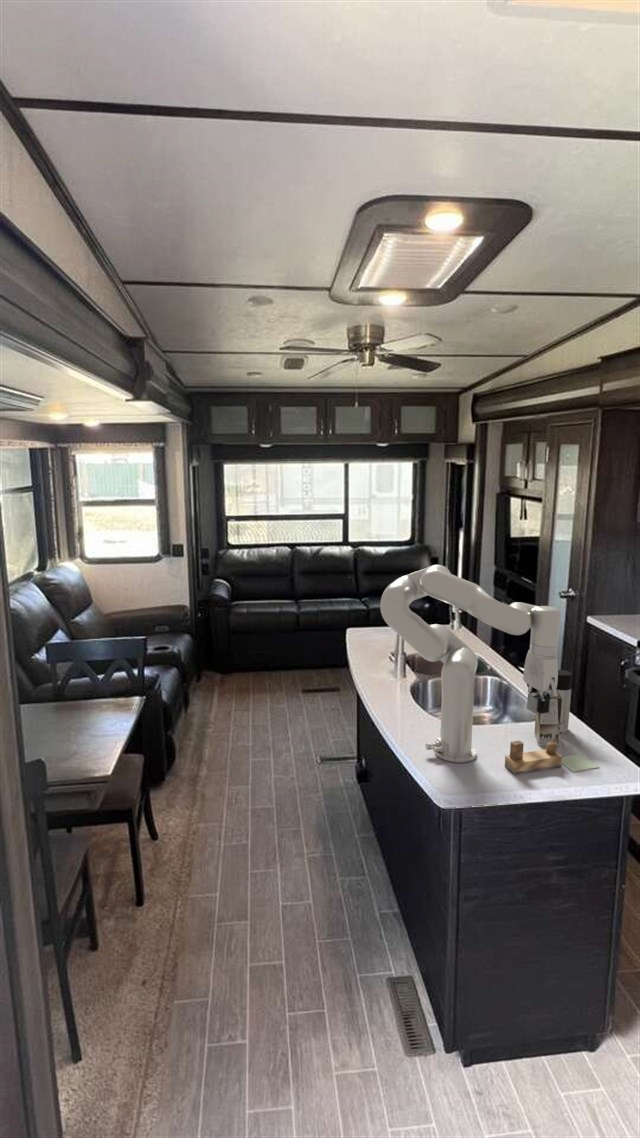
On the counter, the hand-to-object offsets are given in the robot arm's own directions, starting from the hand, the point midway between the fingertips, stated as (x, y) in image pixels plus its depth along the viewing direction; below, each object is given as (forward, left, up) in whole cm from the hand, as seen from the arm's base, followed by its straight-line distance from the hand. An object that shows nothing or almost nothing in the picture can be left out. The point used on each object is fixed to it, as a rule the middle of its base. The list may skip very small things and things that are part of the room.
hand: (538, 708), depth 177 cm
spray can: (+23, +20, -18) cm, 36 cm away
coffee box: (+14, +14, -18) cm, 27 cm away
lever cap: (0, 0, 0) cm, 0 cm away
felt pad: (+13, -2, -18) cm, 23 cm away
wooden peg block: (-1, 0, -18) cm, 18 cm away
